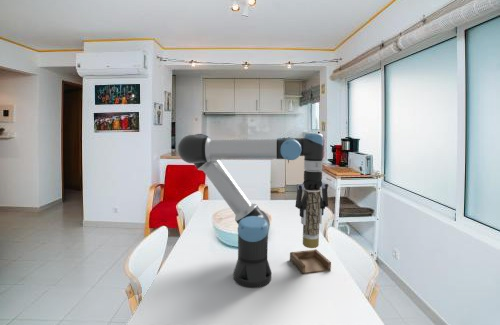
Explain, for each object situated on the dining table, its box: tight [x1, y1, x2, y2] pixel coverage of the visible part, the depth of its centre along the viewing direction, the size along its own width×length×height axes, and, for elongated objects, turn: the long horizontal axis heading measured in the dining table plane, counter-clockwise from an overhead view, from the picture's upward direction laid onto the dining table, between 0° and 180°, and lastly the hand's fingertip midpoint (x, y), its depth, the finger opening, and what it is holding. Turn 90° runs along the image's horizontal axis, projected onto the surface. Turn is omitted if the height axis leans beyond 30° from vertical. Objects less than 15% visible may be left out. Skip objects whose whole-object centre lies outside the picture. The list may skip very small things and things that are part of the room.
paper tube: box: [302, 187, 322, 249], centre depth 121 cm, size 7×7×25 cm
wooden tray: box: [289, 249, 332, 275], centre depth 124 cm, size 13×13×4 cm
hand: (311, 223), depth 122 cm, fingers closed on paper tube, 7 cm apart
